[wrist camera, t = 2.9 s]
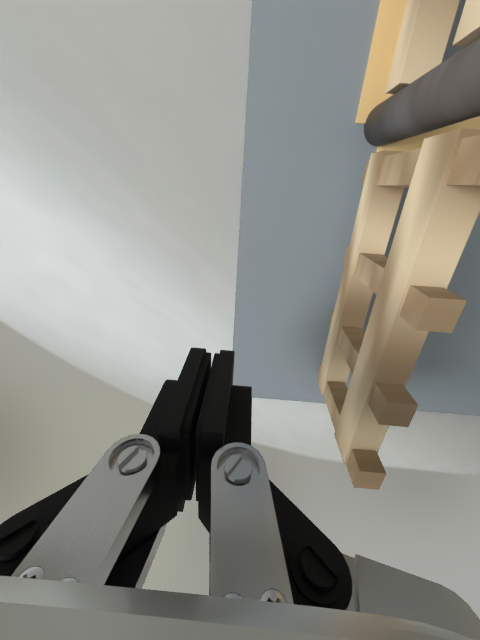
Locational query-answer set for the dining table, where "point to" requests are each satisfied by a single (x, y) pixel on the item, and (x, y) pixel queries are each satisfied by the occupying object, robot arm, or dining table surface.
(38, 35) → the dining table surface
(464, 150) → the fence gate
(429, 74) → the fence fixed
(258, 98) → the card
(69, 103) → the dining table surface
